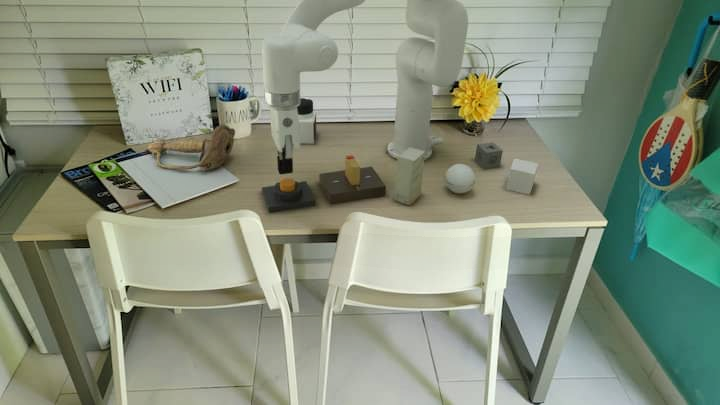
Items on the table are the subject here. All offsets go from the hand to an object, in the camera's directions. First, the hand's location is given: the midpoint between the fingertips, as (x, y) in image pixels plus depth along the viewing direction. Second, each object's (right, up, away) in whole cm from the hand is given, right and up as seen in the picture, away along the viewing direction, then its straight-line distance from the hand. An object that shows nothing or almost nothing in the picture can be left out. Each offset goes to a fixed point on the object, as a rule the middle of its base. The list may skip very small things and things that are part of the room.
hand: (285, 171), depth 118 cm
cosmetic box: (+29, -6, +7) cm, 30 cm away
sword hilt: (-29, +5, +20) cm, 36 cm away
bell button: (0, -4, +3) cm, 5 cm away
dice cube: (+52, +3, +23) cm, 57 cm away
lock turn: (+15, -1, +7) cm, 17 cm away
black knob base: (0, -6, +5) cm, 8 cm away
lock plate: (+15, -4, +9) cm, 18 cm away
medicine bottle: (+1, +12, +32) cm, 34 cm away
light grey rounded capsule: (+42, -5, +9) cm, 43 cm away
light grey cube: (+58, -3, +13) cm, 60 cm away
